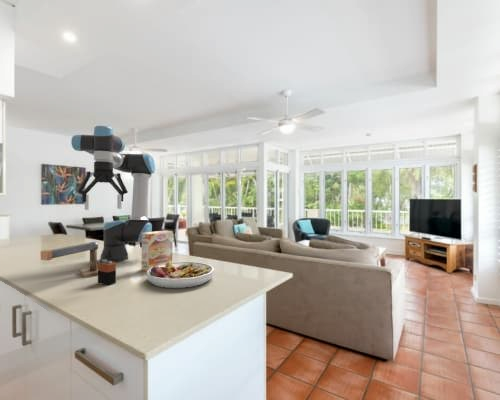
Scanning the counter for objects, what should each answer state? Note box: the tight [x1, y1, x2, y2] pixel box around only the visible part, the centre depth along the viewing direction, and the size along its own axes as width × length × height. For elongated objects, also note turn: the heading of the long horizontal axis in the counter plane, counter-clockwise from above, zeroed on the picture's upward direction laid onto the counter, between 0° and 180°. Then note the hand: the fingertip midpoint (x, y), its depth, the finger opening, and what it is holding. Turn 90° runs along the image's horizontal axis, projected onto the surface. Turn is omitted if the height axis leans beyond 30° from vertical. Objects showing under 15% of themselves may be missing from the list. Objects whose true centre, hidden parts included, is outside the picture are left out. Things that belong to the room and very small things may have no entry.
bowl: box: [146, 261, 215, 289], centre depth 129 cm, size 30×30×8 cm
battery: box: [97, 260, 117, 286], centre depth 122 cm, size 4×7×10 cm, turn 63°
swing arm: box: [40, 241, 99, 261], centre depth 125 cm, size 4×26×4 cm, turn 164°
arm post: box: [78, 249, 98, 279], centre depth 136 cm, size 10×10×12 cm
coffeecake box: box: [140, 230, 174, 272], centre depth 148 cm, size 15×7×20 cm, turn 143°
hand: (103, 209), depth 124 cm, fingers open, 13 cm apart
